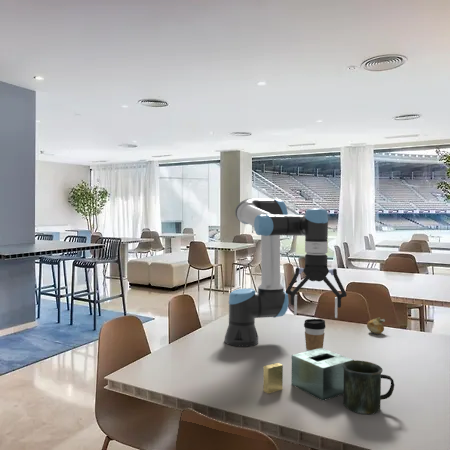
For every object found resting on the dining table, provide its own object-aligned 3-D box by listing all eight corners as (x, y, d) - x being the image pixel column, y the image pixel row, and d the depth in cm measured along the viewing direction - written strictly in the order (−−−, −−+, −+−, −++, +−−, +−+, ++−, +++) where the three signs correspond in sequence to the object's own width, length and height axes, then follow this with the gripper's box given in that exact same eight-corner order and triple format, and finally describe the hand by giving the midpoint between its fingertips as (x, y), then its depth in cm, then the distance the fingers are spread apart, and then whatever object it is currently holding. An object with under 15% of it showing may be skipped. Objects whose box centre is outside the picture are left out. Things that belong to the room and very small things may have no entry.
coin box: (291, 384, 134) (291, 354, 134) (321, 376, 141) (321, 347, 141) (322, 400, 122) (323, 368, 122) (353, 390, 130) (353, 359, 130)
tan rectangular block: (263, 391, 129) (263, 366, 129) (277, 386, 132) (277, 362, 132) (268, 393, 127) (268, 368, 127) (282, 389, 130) (282, 365, 130)
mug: (339, 397, 125) (340, 359, 125) (389, 401, 122) (390, 362, 122) (343, 413, 114) (344, 372, 114) (398, 419, 111) (398, 376, 111)
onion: (369, 330, 201) (369, 314, 201) (385, 333, 197) (386, 316, 197) (364, 333, 195) (365, 317, 195) (381, 336, 191) (382, 319, 190)
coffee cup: (325, 361, 156) (326, 323, 155) (303, 360, 157) (303, 322, 157) (324, 354, 164) (325, 318, 164) (303, 353, 166) (304, 317, 165)
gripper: (278, 253, 137) (277, 315, 137) (355, 255, 131) (354, 320, 131) (281, 252, 144) (280, 311, 144) (353, 254, 138) (353, 315, 138)
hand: (315, 315), depth 138 cm, fingers open, 13 cm apart
